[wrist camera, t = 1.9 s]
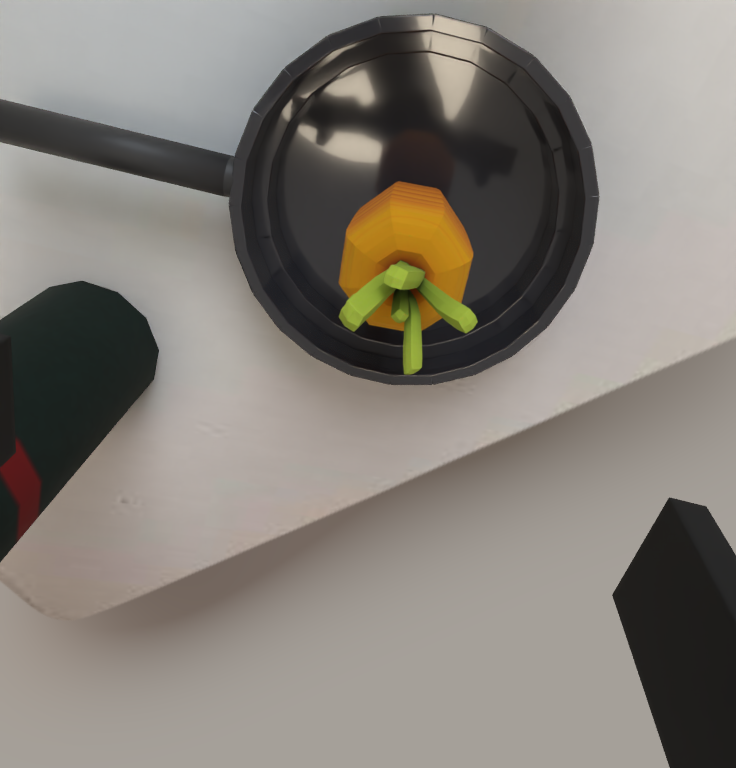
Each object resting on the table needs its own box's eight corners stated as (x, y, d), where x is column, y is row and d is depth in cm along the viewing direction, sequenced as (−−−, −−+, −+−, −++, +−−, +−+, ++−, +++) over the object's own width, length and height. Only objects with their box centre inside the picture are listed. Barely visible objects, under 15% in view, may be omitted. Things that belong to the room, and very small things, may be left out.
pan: (277, -23, 28) (254, -33, 24) (632, 67, 28) (663, 71, 25) (235, 312, 36) (212, 343, 32) (514, 378, 36) (524, 416, 32)
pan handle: (-9, 93, 29) (-34, 96, 27) (255, 157, 29) (246, 164, 28) (-6, 134, 30) (-30, 139, 28) (250, 196, 30) (241, 205, 28)
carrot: (481, 190, 31) (521, 298, 18) (424, 271, 33) (422, 422, 20) (396, 131, 30) (372, 201, 17) (343, 219, 32) (285, 342, 19)
